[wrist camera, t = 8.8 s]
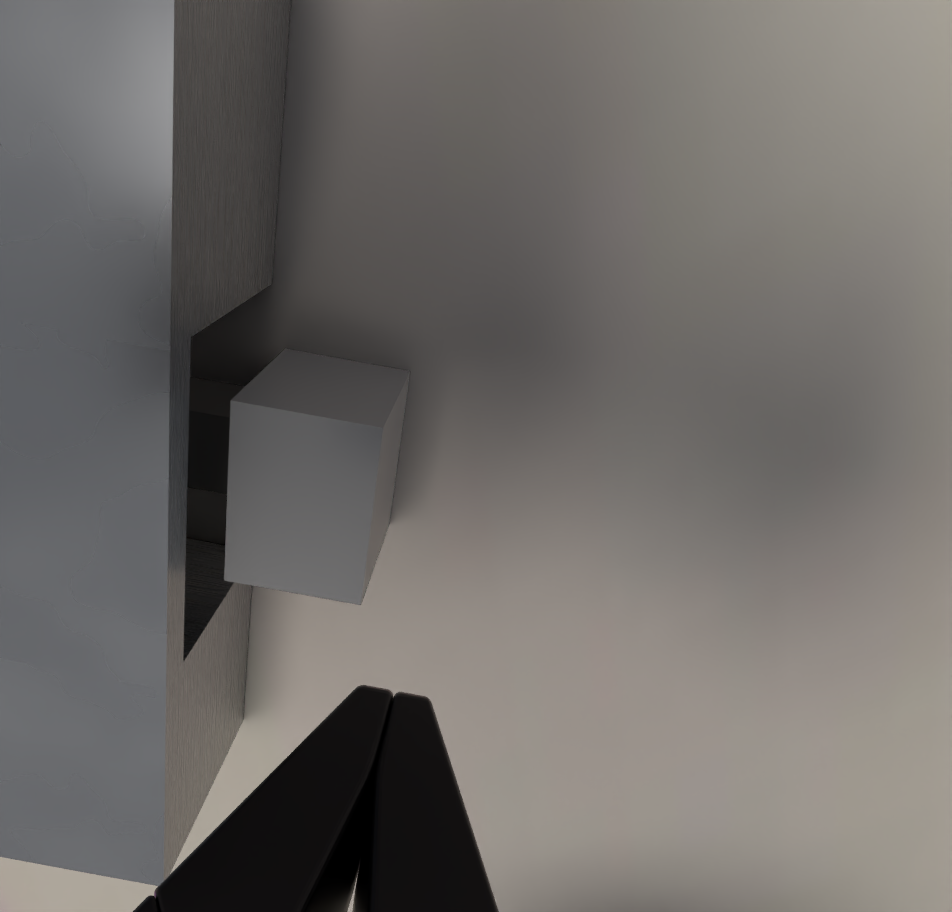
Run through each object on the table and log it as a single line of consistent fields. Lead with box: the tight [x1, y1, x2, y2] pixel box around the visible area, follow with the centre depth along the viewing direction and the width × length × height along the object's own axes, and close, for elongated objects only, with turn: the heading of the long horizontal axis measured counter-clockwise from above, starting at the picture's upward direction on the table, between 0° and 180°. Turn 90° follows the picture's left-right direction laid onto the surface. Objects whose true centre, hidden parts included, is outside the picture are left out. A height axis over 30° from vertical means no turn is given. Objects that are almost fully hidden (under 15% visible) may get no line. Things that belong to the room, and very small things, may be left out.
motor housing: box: [0, 0, 291, 886], centre depth 14 cm, size 5×16×4 cm, turn 170°
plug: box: [187, 349, 410, 605], centre depth 15 cm, size 14×4×3 cm, turn 81°
